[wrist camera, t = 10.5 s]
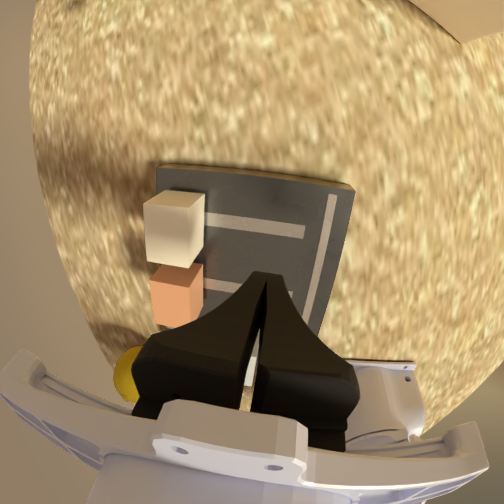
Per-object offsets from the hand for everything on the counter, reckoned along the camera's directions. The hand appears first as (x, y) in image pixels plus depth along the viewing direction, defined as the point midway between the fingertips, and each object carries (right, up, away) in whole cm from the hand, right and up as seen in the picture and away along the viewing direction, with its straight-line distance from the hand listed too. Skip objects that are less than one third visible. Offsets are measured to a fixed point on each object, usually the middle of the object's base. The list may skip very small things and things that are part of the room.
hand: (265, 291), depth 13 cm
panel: (-1, 0, +11) cm, 12 cm away
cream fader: (-5, +4, +7) cm, 10 cm away
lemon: (-12, -10, +18) cm, 24 cm away
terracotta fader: (-6, -1, +10) cm, 11 cm away
